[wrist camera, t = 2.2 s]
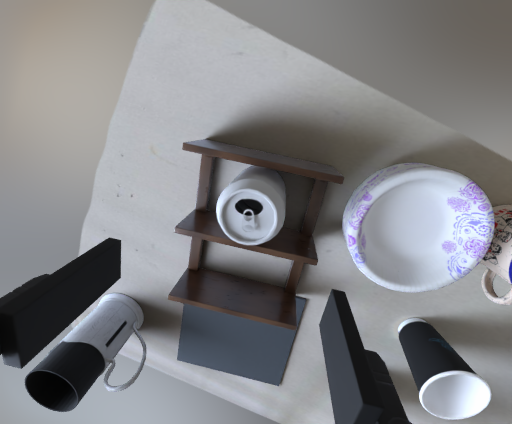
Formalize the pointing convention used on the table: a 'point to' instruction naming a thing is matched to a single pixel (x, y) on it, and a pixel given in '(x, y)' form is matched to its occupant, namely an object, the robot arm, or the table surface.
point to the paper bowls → (417, 226)
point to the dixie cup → (441, 373)
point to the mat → (236, 343)
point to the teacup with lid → (499, 255)
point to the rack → (282, 245)
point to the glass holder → (86, 354)
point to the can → (252, 206)
